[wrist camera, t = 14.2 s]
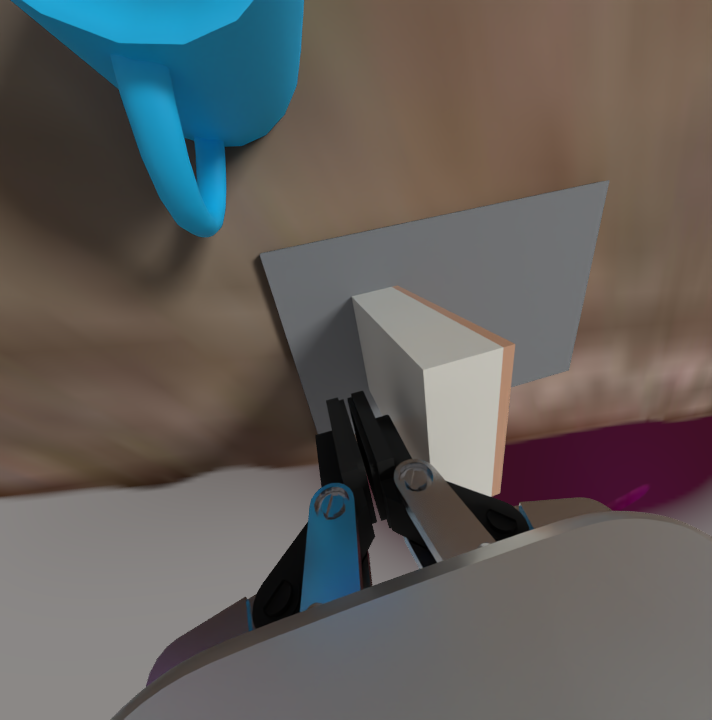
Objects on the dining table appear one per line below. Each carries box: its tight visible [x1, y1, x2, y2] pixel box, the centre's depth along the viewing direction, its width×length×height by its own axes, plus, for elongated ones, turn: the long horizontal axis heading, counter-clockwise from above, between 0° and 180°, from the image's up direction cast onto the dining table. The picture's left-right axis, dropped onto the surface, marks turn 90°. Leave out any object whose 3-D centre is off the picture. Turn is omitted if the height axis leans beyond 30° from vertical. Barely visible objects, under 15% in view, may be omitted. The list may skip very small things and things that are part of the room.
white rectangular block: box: [352, 285, 515, 497], centre depth 14 cm, size 7×3×10 cm, turn 11°
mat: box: [260, 180, 609, 434], centre depth 19 cm, size 14×22×1 cm, turn 101°
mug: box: [11, 0, 304, 237], centre depth 8 cm, size 12×8×8 cm
